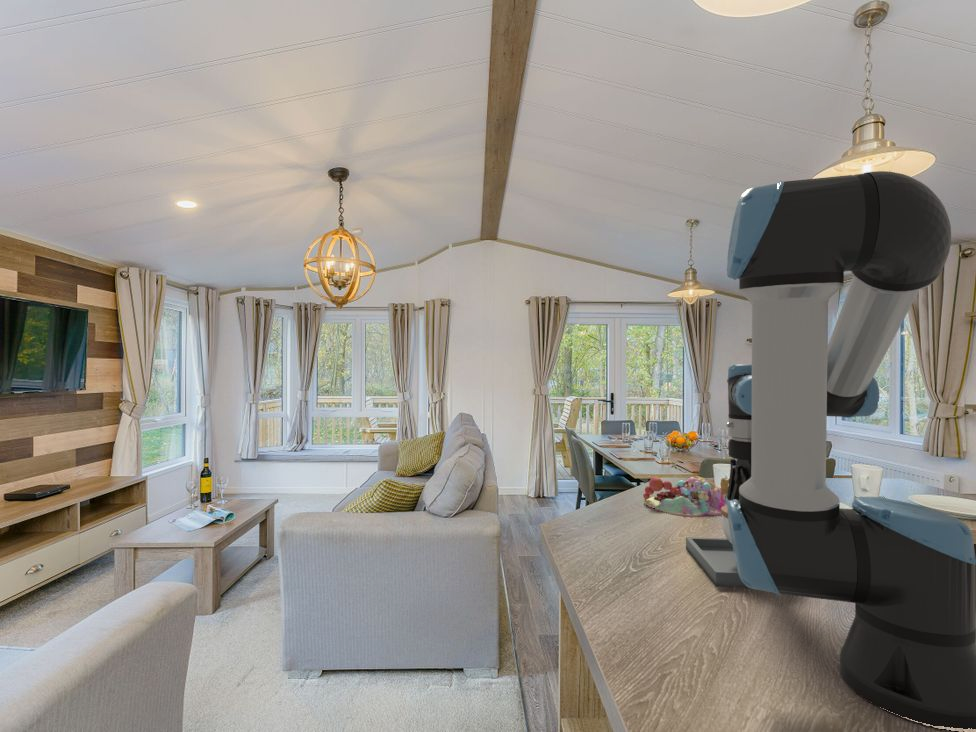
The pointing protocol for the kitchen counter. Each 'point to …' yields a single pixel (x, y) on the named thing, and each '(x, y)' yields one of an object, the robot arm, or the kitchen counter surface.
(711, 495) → the candy landscape model
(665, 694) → the kitchen counter surface
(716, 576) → the tray
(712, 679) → the kitchen counter surface
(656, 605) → the kitchen counter surface
